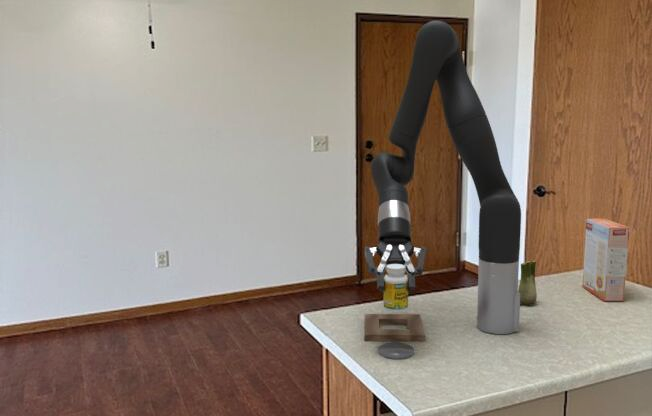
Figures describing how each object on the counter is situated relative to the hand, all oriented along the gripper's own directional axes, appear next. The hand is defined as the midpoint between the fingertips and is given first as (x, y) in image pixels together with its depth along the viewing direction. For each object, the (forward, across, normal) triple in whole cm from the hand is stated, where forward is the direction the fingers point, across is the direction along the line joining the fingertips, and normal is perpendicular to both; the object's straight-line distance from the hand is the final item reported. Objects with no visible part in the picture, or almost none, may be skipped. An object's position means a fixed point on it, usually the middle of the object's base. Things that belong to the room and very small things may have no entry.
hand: (396, 290), depth 123 cm
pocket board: (0, 0, +21) cm, 21 cm away
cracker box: (-20, +61, +41) cm, 76 cm away
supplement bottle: (+2, 0, +5) cm, 5 cm away
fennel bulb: (-14, +37, +35) cm, 53 cm away
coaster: (+9, 0, +11) cm, 15 cm away
